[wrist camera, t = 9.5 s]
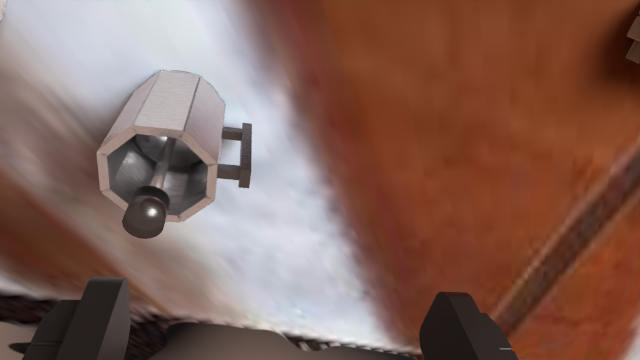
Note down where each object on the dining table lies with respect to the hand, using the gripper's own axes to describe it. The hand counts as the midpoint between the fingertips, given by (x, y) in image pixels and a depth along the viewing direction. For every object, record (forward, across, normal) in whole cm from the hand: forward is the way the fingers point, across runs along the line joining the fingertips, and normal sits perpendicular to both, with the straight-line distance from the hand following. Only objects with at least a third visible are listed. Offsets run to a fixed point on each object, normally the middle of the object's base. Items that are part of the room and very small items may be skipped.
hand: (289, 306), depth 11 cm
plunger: (+35, +8, +14) cm, 38 cm away
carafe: (+40, +6, +14) cm, 43 cm away
